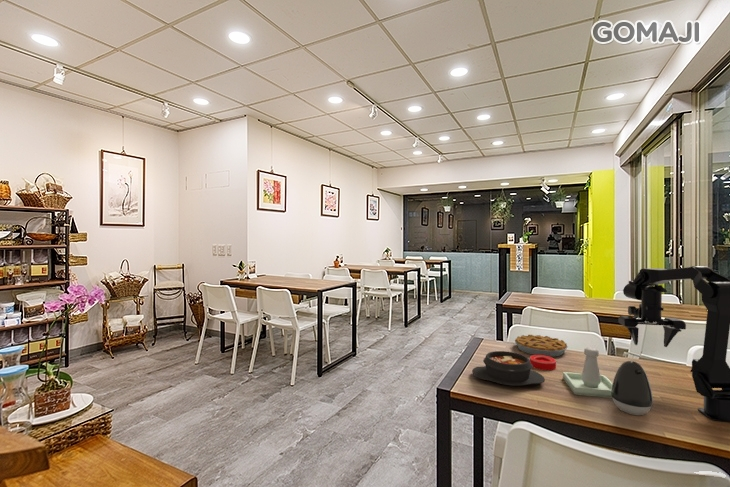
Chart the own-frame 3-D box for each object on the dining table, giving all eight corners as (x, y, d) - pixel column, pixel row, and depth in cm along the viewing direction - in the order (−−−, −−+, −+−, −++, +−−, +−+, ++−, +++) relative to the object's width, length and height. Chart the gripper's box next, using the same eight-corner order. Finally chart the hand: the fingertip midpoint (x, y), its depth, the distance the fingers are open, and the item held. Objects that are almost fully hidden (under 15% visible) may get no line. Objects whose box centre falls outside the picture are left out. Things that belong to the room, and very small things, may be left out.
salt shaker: (603, 389, 121) (604, 351, 120) (584, 388, 122) (585, 350, 122) (596, 382, 127) (597, 346, 126) (578, 381, 128) (579, 345, 127)
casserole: (474, 387, 125) (474, 363, 125) (470, 368, 144) (470, 347, 143) (551, 393, 120) (551, 369, 120) (537, 372, 138) (537, 351, 138)
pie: (528, 340, 181) (528, 330, 181) (575, 351, 164) (575, 340, 164) (506, 349, 167) (506, 338, 167) (555, 362, 150) (555, 350, 150)
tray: (621, 398, 116) (621, 391, 116) (575, 394, 119) (575, 387, 119) (604, 381, 129) (604, 375, 129) (562, 378, 133) (562, 372, 133)
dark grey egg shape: (621, 418, 104) (622, 366, 104) (604, 401, 114) (605, 354, 114) (661, 421, 102) (662, 368, 102) (640, 404, 112) (641, 356, 112)
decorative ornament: (550, 362, 150) (550, 354, 150) (560, 371, 140) (560, 363, 140) (526, 361, 151) (526, 354, 151) (534, 370, 141) (534, 362, 141)
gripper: (668, 300, 134) (667, 341, 135) (612, 298, 139) (611, 337, 139) (687, 305, 123) (686, 350, 124) (625, 303, 128) (624, 346, 128)
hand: (650, 345), depth 129 cm, fingers open, 9 cm apart
